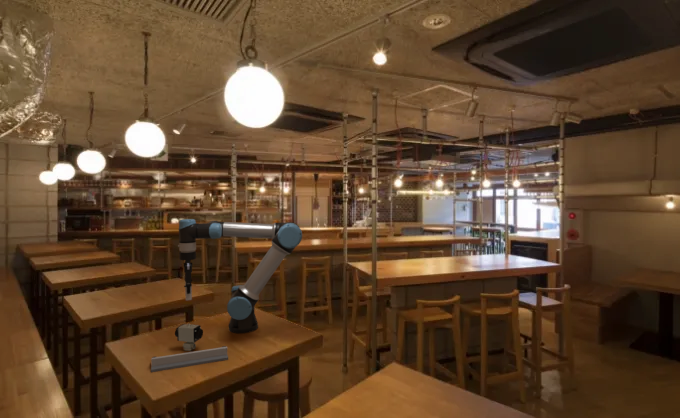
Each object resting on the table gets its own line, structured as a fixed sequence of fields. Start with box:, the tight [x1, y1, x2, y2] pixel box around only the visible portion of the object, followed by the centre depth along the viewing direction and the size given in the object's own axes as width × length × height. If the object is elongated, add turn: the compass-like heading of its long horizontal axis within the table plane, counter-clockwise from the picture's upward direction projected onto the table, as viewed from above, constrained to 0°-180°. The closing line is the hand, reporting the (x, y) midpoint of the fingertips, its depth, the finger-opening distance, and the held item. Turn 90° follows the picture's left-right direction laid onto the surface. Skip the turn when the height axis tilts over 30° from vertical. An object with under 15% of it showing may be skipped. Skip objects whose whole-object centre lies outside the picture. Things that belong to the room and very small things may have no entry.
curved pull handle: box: [150, 345, 229, 373], centre depth 164 cm, size 30×10×4 cm, turn 113°
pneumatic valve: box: [174, 323, 204, 352], centre depth 176 cm, size 6×12×12 cm, turn 78°
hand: (188, 297), depth 186 cm, fingers open, 8 cm apart
